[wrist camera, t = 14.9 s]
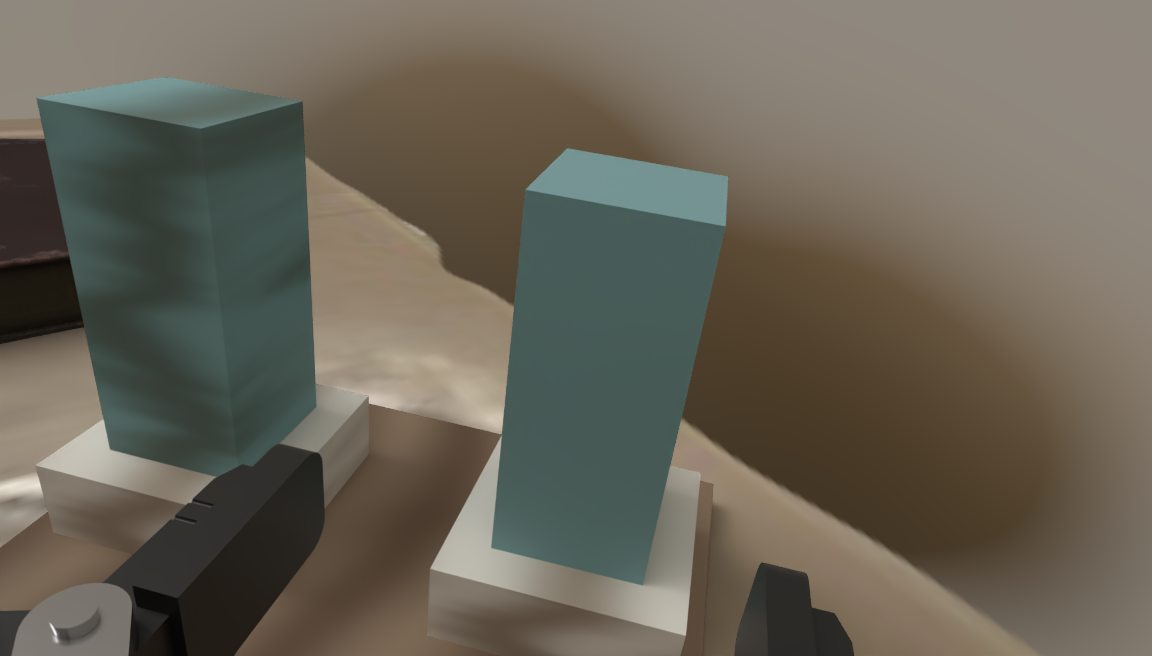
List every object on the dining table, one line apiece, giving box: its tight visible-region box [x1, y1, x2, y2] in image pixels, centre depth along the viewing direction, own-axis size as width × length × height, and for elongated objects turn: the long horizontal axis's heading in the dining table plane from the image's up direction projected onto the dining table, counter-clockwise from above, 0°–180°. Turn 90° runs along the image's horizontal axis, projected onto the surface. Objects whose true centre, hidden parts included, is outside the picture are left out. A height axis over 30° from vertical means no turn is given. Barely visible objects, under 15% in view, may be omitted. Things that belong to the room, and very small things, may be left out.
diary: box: [0, 139, 84, 344], centre depth 47 cm, size 19×25×5 cm
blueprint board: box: [0, 77, 713, 656], centre depth 24 cm, size 24×15×16 cm, turn 78°
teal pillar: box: [491, 149, 728, 586], centre depth 23 cm, size 5×5×12 cm
